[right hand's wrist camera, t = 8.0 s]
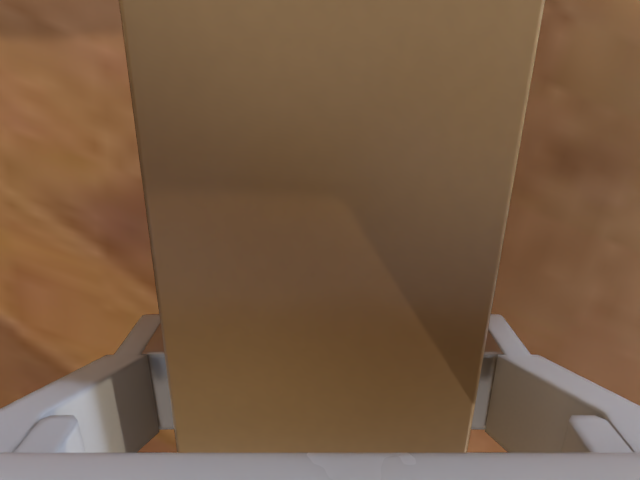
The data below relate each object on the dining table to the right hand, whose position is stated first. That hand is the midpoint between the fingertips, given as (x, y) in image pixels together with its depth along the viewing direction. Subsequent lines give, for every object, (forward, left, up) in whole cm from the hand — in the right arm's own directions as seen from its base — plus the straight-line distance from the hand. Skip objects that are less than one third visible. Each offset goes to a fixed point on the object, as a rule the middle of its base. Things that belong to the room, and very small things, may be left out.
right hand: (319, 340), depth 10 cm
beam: (-9, -27, -3) cm, 29 cm away
